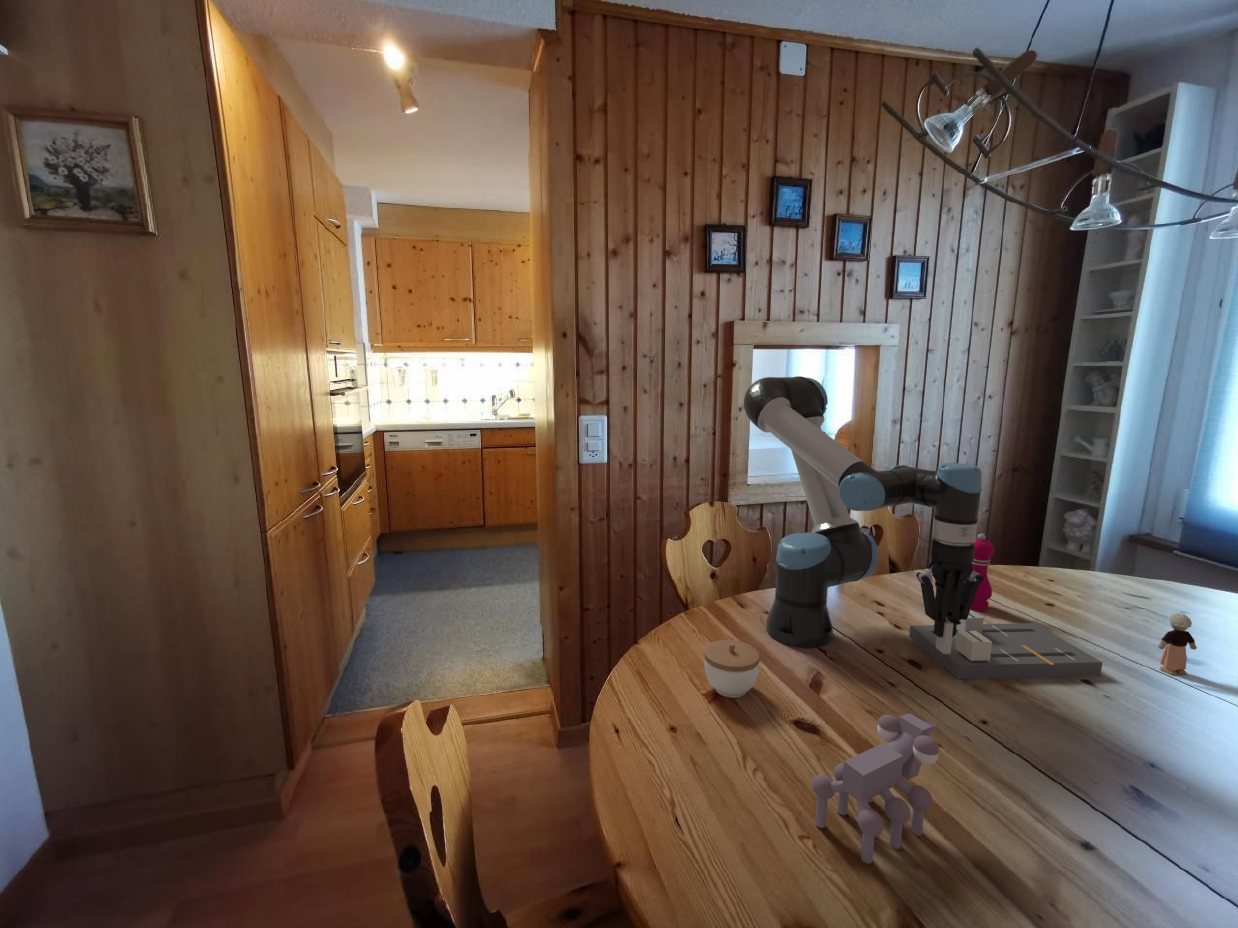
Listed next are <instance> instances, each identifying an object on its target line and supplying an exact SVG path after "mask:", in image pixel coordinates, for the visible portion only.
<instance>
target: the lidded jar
mask: <svg viewBox="0 0 1238 928" xmlns="http://www.w3.org/2000/svg"><path fill="white" fill-rule="evenodd" d="M703 658H704V660H703V662H704V665H703V666H704V671H705V676H706V678H707V681H708V683H709V684H710V685H711V687H712V688H713V689H714V690H715V691H716V693H717V694H718V695H721V696H722V697H726V698H733V699H734V698H741V697H743V696H745V695H746V693H747V692H749V691H750V690H751V689H752V688H753V687H754V685H755V683H756V682H757V678H758V676H759V669H760V661H761V655H760V652H759V651H758V649H756V647H754V646H753V645H751V644H748V643H747V642H743V641H739V640H735V639H720V640H715V641H712V642H710V643H708V644H706V646H705V648H704V649H703Z"/></svg>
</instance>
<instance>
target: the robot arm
mask: <svg viewBox="0 0 1238 928" xmlns="http://www.w3.org/2000/svg"><path fill="white" fill-rule="evenodd" d="M828 404H829V403H828V394H827V392H826V389H825V388H824V386H823V384H821V382H819V381H818V380H817V379H815V378H811V377H804V376H797V375H796V376H788V377H787V376H786V377H785V376H783V377H782V376H779V377H775V376H767V377H763V378H760V379H757V380H756V381H754V382H753V383H752V384H751V385H750V386H749V387H748V389H747V390H746V392H745V394H744V397H743V408H744V411H745V415H746V416H747V418H748V419H749V421H750V422H751V423H752V424H753V425H754V426H755V427H757V429H759V430H760V431H761V432H763V433H770V434H772V435H773V436H774V437H775V438H777V439H778V440H779V441H780V442H781V443H783V444H784V445H785V446H786V447H788V448H789V449H790V450H791V453H792V456H793V460H794V464H795V467H796V468H797V472H798V476H799V479H800V482H801V486H802V489H803V493H804V497H805V499H806V503H807V505H808V508H809V512H810V515H811V518H812V521H813V528H812V529H811V532H804V533H803V532H796V533H791V534H788V535H786V536H784V537H782V539H780V541H779V542H778V544H777V553H776V555H775V557H776V558H775V559H776V560H775V561H776V563H775V564H776V565H775V567H776V569H775V592H774V594H775V595H774V600H773V603H772V606H771V608H770V610H769V612H768V615H767V618H766V621H765V622H766V625H765V626H766V627H765V628H766V629H765V630H766V632H767V635H769V636H770V637H771V638H773V639H774V640H776V641H777V642H780V643H783V644H786V645H789V646H793V647H799V648H819V647H824V646H826V645H828V644H830V643H831V642H832V641H833V636H834V635H833V634H834V626H833V623H832V620H831V617H830V612H829V609H828V606H827V605H828V604H827V602H828V601H827V600H828V590H829V589H828V588H830V587H835V586H839V585H844V584H847V583H854V582H858V581H860V580H862V579H864V578H867V577H869V576H870V575H871V574H873V573H874V571H875V568H876V567H877V565H878V562H879V551H878V550H879V549H878V546H877V543H876V541H875V539H874V538H873V537H872V536H870V535H869V533H867V532H865V531H862V529H861V526H860V524H859V521H858V520H856V519H854V518H852V517H851V516H850V513H849V511H848V510H851V511H854V512H864V511H865V512H868V511H874V510H878V509H883V508H888V507H895V506H902V505H905V504H906V505H907V504H908V505H909V504H914V505H919V506H925V507H929V508H933V510H934V511H933V512H934V513H933V514H934V515H933V522H932V523H933V525H932V534H931V535H932V537H933V539H931V546H930V558H931V561H930V563H929V564H928V569H927V570H925V571H924V572H920V571H917V573H916V575H915V577H916V578H917V579H918V581H919V583H920V589H921V595H922V600H923V605H924V612H925V613H924V614H925V615H926V616H927V617H928V618H930V619H931V620H932V621H934V622H933V623H934V624H933V625H934V634H935V635H936V636H937V638H936V648H937V649H938V650H939V651H940V652H942V653H943V654H951V644H952V637H955V635H956V627H957V625H959V624H960V623H961V621H959V620H962V619H963V620H966V619H967V618H968V615H969V612H970V609H971V606H972V604H973V601H974V598H975V595H976V592H977V589H978V587H979V585H980V584H981V583H982V581H983V580H984V576H983V575H981V574H979V573H977V572H975V571H973V566H972V562H973V561H974V553H975V545H974V544H973V543H974V542H975V541H976V539H977V532H978V531H977V529H978V517H979V510H980V509H979V508H980V500H981V493H982V490H983V489H982V476H983V475H982V474H983V473H982V470H981V468H980V467H979V466H976V465H974V464H970V463H960V462H944V463H941V464H940V465H938V469H937V470H930V469H924V468H919V467H912V466H909V465H904V464H903V465H898V464H896V465H895V464H890V465H887V466H886V467H885V468H884V469H882V470H876V469H875V468H873V467H872V466H870V465H869V464H867V463H866V462H865V461H863V460H862V459H860V458H859V457H858V456H856V455H855V454H853V452H851V451H850V450H848V449H847V448H846V447H844V446H843V445H842V444H840V443H839V442H838V441H836V440H835V439H834V438H833V437H831V436H830V435H828V434H827V433H826V432H824V430H822V425H823V424H824V423H825V420H826V419H825V417H824V414H825V413H826V411H827V407H826V406H827V405H828ZM933 579H934V580H935V582H934V580H933ZM933 582H934V585H933ZM964 582H965V583H964ZM934 586H935V588H934ZM934 589H935V590H934Z"/></svg>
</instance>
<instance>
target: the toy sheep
mask: <svg viewBox="0 0 1238 928" xmlns="http://www.w3.org/2000/svg"><path fill="white" fill-rule="evenodd" d="M935 727H936V724H935V723H931V722H927V721H924V720H922V719H921V718H918V717H916V716H915V715H913V714H912V713H910V712H909V713H906V714H904V715H901V716H899V718H897V717H896V716H894V715H892V714H882V715H881V716H880V717H879V718H878V719H877V728H876V730H877V733H878V735H879V737H880V738H881V739H882V740H883V741H885V742H888V744H886V743H885V742H882V743H880V744H878V745H876V746H874V747H871V748H870V749H867V750H865V751H863V752H861V753H859V754H857V755H854V756H853V757H851V758H848V759H846V760H844V761H843V762H841V763H838V764H837V765H836V766H835V768H834V772H833V775H834V780H833V779H832V778H831V777H830V776H829V775H826V774H823V773H820V774H818V775H817V774H816V776H814V777H813V779H812V782H811V788H812V791H813V792H814V794H815V795H816V804H815V806H816V809H815V821H814V825H815V826H816V827H817V828H820V829H825V828H826V823H827V822H826V821H827V811H828V810H827V809H828V800H830V799H832V798H833V797H834V796H835V794H837V793H838V794H837V807H836V812H837V813H838V814H839V815H842V816H846V815H848V811H849V810H848V809H849V796H851V797H852V798H853V799H855V801H856V803H857V807H858V809H859V813H858V815H857V825H858V827H859V829H860V831H861V832H862V839H861V840H862V841H861V854H860V858H861V859H860V860H861V861H862V862H863V863H864V864H865V863H866V864H868V865H869V864H872V862H873V859H874V858H873V857H874V847H875V845H874V844H875V838H876V837H878V836H879V837H880V835H882V833H883V832H884V827H885V826H884V819H883V818H882V817H881V815H880V814H879V813H878V812H877V811H876V810H874V809H872V808H871V806H870V804H869V803H872V802H873V798H874V797H876V796H879V795H880V796H881V798H882V799H883V800H884V802H885V803H884V812H885V815H886V816H887V818H888V819H889V820H890V830H889V838H888V839H889V841H888V843H889V846H890V847H892V848H893V849H895V850H899V849H900V848H901V845H902V836H903V835H902V834H903V825H905V824H907V823H908V822H909V820H910V818H911V823H910V824H911V825H910V832H911V833H912V834H913V835H915V836H918V837H919V836H922V835H923V831H924V830H923V829H924V821H925V819H924V818H925V812H926V811H929V810H930V809H931V807H932V806H933V797H932V795H931V793H930V791H929V790H928V789H927V788H926V787H924V786H922V785H920V784H919V785H918V784H914V785H912V784H910V783H909V782H907V781H906V780H911V779H913V778H915V777H917V776H919V773H920V769H921V766H922V765H927V766H929V765H933V764H935V763H936V762H937V760H938V758H939V752H940V750H939V748H940V747H939V745H938V743H937V742H936V740H934V738H933V737H931V733H932V731H933V730H934V728H935ZM902 777H903V778H904V779H906V780H904V779H903V778H902ZM893 787H896V788H897V789H899V790H900V791H901V792H903V793H904V795H906V799H907V801H908V803H907V802H906V801H905V800H904V799H902V798H900V797H898V796H895V795H894V794H893V793H892V792H891V789H892V788H893ZM908 804H909V805H908ZM910 806H911V807H912V815H911V810H910ZM911 816H912V817H911Z"/></svg>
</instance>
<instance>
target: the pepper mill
mask: <svg viewBox="0 0 1238 928" xmlns="http://www.w3.org/2000/svg"><path fill="white" fill-rule="evenodd" d="M973 544H974V545H975V553H974V561H973V562H972V566H973V571H975V572H977V573H979V574H981V575H983V576H984V580H983V581H982V583H981V584H980V585H979V587H978V589H977V592H976V595H975V598H974V601H973V604H972V606H971V609H970V610H972V611H974V612H986V611H988V610H989V604H990V603H989V601H988V600H990V599H991V598H992V596H993V588H992V586H991V583H990V581H989V580H990V579H989V578H988V568H989V566H990V565H991V561H992V560H991V557H993V555H994V553H995V549H994V545H993V543H991V542H990V541H989V540H986V535H985V534H984V533H979V534H977V538H976V541H975V542H974V543H973ZM964 583H965V582H964Z"/></svg>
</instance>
